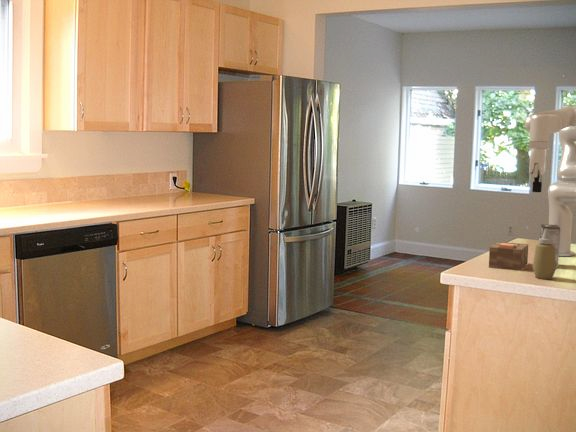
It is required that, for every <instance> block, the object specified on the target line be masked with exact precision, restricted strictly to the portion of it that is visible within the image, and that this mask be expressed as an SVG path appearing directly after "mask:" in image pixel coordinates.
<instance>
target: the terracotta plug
mask: <svg viewBox="0 0 576 432" xmlns="http://www.w3.org/2000/svg"><path fill="white" fill-rule="evenodd" d="M508 243H509V242H505V243H502V244H500V248H510V249H514V248H515V244H508Z"/></svg>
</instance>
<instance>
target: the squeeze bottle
mask: <svg viewBox="0 0 576 432" xmlns="http://www.w3.org/2000/svg"><path fill="white" fill-rule="evenodd" d="M552 241H553V240H552V239H550V238H549V232H548V229H544V233H543V236H542V238H540V237H539V238H538V244H536V245H535V249H534V250H535V251H534V254H533V255H534V256H533V263H532V270H533V274H534V276H535V278H537V279H540V280H550V279H553V278H554V275H555V272H556V269H557V268H556V259H555V246H554V245H552Z"/></svg>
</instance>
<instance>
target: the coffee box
mask: <svg viewBox="0 0 576 432" xmlns="http://www.w3.org/2000/svg"><path fill="white" fill-rule="evenodd" d="M544 229H548V232H549V238H550V239H552V240H553V241H552V245H554V246H555V259H556V269H558V268H559V257H560V256H559V242H560V227H559V226H558V225H549V224H545V223H544V224H540V237H539V238H542V236H543V233H544Z"/></svg>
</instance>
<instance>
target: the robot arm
mask: <svg viewBox="0 0 576 432" xmlns="http://www.w3.org/2000/svg"><path fill="white" fill-rule="evenodd" d="M524 128H525V130H526V131H527V133H529V142H528V143H529V144H528V150H530V157H529V168H528V169H529V170H528V174H529V175H533V179H532V193H542V187H543V186H542V185H543V181H542V179H543V175H544V174H545V172H546V161H547V158H546V157H547V151H548V150H550V138H551V134H557V133H558V138H559V143H560V146H561V153H562V154H561V157H560V161H559V164H558V168H557V173H556V178H557V179H558V181H555V182H552V183H550V185H549V186H548V189H547V198H548V208H549V209H548V225H558V226H559V227H560V242H559V257H573V256H574V255H575V252H574V251H573V250H572V251H571V248H572V247H571V245H572V228H573V224H572V223H573V213H572V210H571V209H570V207H569V206H570V205H571V206H576V106H565V107H561V108H557V109H552V110H547V111H540V112H536V113H531V114H529V115H528V116H527V117H526V118H525V122H524ZM568 205H569V206H568Z"/></svg>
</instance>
